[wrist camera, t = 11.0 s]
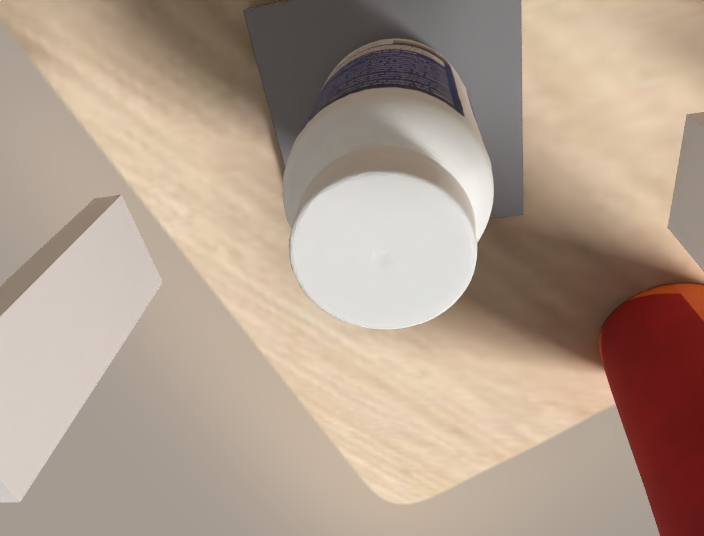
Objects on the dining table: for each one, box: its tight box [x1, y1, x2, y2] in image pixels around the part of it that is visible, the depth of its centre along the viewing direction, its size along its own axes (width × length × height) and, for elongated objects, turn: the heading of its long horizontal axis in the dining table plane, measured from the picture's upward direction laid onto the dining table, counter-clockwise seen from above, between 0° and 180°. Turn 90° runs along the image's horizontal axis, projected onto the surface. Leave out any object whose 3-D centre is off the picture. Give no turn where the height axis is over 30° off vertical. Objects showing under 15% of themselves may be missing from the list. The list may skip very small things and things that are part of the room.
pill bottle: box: [283, 38, 494, 329], centre depth 15 cm, size 5×5×10 cm
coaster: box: [243, 0, 523, 219], centre depth 19 cm, size 9×9×1 cm
